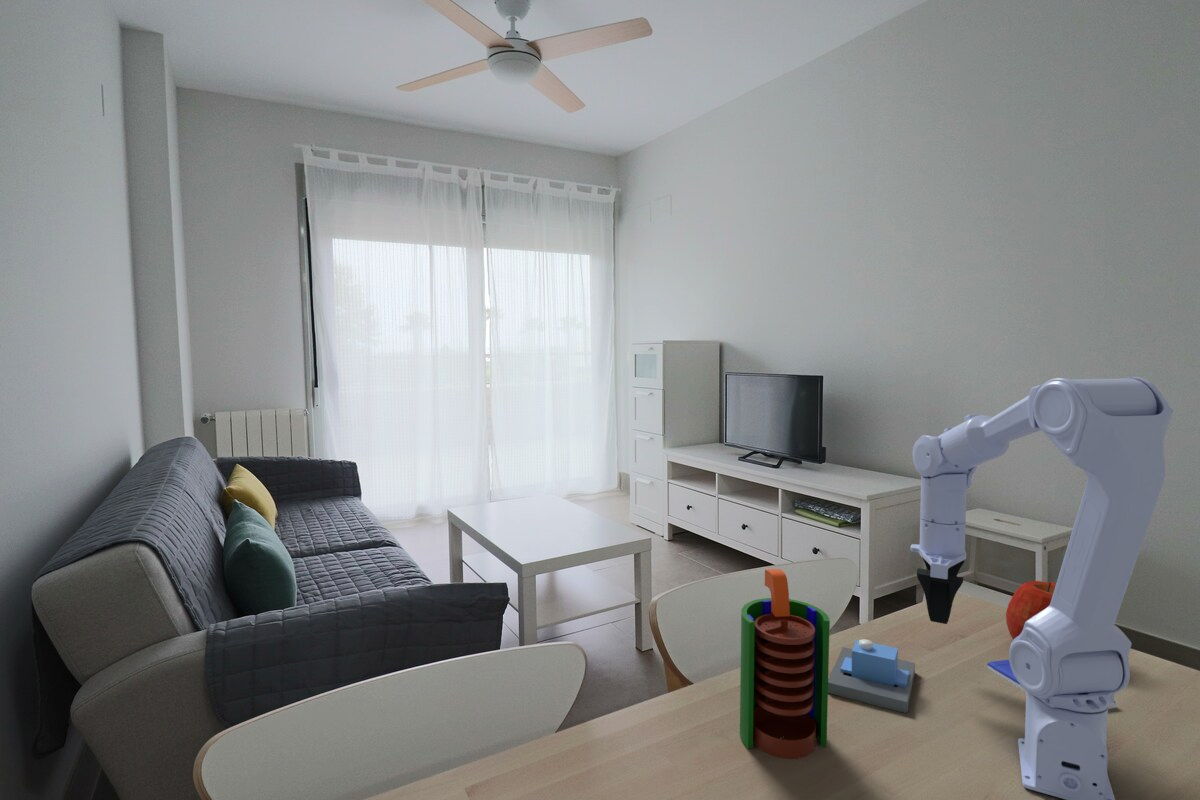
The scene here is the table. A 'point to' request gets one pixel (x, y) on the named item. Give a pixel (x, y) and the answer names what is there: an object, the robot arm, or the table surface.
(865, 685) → the grey flat frame
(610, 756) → the table surface
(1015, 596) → the apple
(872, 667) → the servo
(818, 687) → the motor
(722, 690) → the table surface
